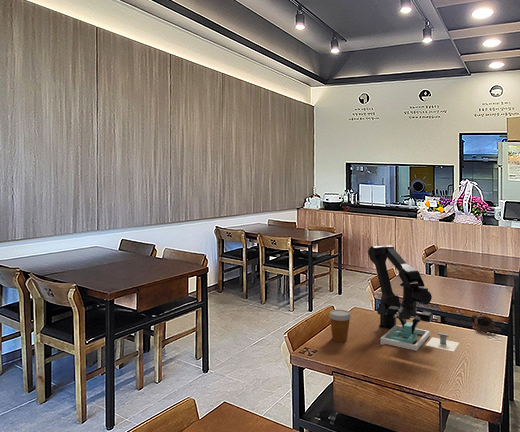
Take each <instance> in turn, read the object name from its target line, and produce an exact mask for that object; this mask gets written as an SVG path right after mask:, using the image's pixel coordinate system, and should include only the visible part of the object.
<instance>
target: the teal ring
mask: <svg viewBox="0 0 520 432" xmlns="http://www.w3.org/2000/svg"><path fill="white" fill-rule="evenodd" d="M412 325H413V321H412V322H411V321H406V323H405V324H404V330H403V331H401V330H399V331H395V332H394V333H393V334H392V335H391V336H390V339H392V340H397V341H401V342H406V343H410V344H414V342H415V341H416V340H417V339H418V334H415V333H413V334H412Z"/></svg>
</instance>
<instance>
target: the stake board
mask: <svg viewBox="0 0 520 432" xmlns="http://www.w3.org/2000/svg"><path fill="white" fill-rule="evenodd" d="M449 335H450V334H448V333H443V332H438V333H437V336H439V338H438V337H433V336H432V337H431V338H430V340H429V341H427V343H426V344H425V346H426V347H431V348H436V349H440V350H443V351H444V350H445V351H450V352H454V353H455V350H456V349H457V348H458V346H459V344H460V342H457V341H452V340H449V339H447V338H449Z"/></svg>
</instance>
